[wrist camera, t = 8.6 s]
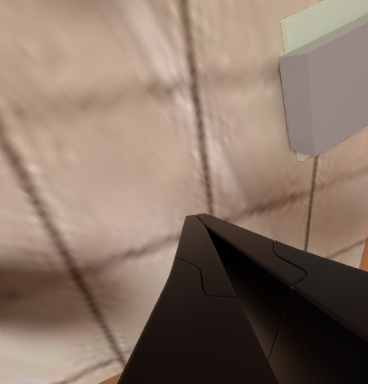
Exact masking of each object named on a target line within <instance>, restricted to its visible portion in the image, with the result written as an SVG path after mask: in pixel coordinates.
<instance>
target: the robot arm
mask: <svg viewBox="0 0 368 384" xmlns="http://www.w3.org/2000/svg"><path fill="white" fill-rule="evenodd" d="M117 384H368V272H367V271H364V270H361V269H358V268H354V267H351V266H348V265H345V264H342V263H339V262H336V261H333V260H329V259H326V258H323V257H320V256H317V255H314V254H311V253H308V252H305V251H302V250H299V249H296V248H294V247H291V246H288V245H286V244H283V243H280V242H278V241H273V240H272V239H269V238H267V237H264V236H262V235H259V234H257V233H254V232H251V231H249V230H246V229H244V228H241V227H239V226H236V225H234V224H231V223H228V222H226V221H223V220H221V219H218V218H216V217H213V216H211V215H208V214H205V213H204V214H197V215H190V216H186V217H185V221H184V225H183V229H182V232H181V236H180V240H179V244H178V247H177V251H176V255H175V259H174V262H173V265H172V268H171V271H170V275H169V277H168V279H167V282H166V284H165V286H164V288H163V290H162V292H161V294H160V296H159V299H158V301H157V303H156V305H155V307H154V309H153V311H152V313H151V315H150V317H149V319H148V321H147V323H146V325H145V327H144V329H143V331H142V333H141V335H140V337H139V339H138V341H137V344H136V346H135V348H134V350H133V352H132V354H131V356H130V358H129V360H128V362H127V364H126V366H125V368H124V370H123V372H122V374H121V376H120V378H119V380H118V383H117Z"/></svg>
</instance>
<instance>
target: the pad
mask: <svg viewBox="0 0 368 384" xmlns="http://www.w3.org/2000/svg"><path fill="white" fill-rule="evenodd" d="M366 14H368V0H322V1H320V2H318V3H316V4H314V5H312V6H310V7H307V8H305V9H303V10H301V11H299V12H297V13H295V14H292V15H290V16H288V17H286V18H284V19H282V20H280V22H281V30H282V38H283V47H284V55H286V54H288V53H290V52H292V51H294V50H296V49H298V48H300V47H302V46H304V45H306V44H308V43H310V42H312V41H314V40H316V39H318V38H320V37H322V36H324V35H326V34H328V33H330V32H332V31H334V30H336V29H338V28H340V27H342V26H344V25H346V24H348V23H350V22H352V21H354V20H356V19H358V18H360V17H362V16H364V15H366ZM296 156H297V161H300V162H302V161H304V160H305V159H307V158H309V157H310V155H306V154H303V153H300V152H296Z"/></svg>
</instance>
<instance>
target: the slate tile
mask: <svg viewBox="0 0 368 384" xmlns="http://www.w3.org/2000/svg"><path fill="white" fill-rule="evenodd" d="M279 65H280V73H281V80H282V88H283V96H284V103H285V111H286V118H287V126H288V134H289V141H290V149H291V150H293V151H296V152H300V153H303V154H306V155H310V156H313V157H316V156H317V155H319V154H321V153H322V152H324V151H326V150H327V149H329V148H331V147H332V146H334V145H336V144H337V143H339V142H341V141H342V140H344V139H346V138H347V137H349V136H351V135H352V134H354V133H356V132H357V131H359V130H361V129H362V128H364V127H366V126H367V125H368V14H366V15H364V16H362V17H360V18H358V19H356V20H354V21H352V22H350V23H348V24H346V25H344V26H342V27H340V28H338V29H336V30H334V31H332V32H330V33H328V34H326V35H324V36H322V37H320V38H318V39H316V40H314V41H312V42H310V43H308V44H306V45H304V46H302V47H300V48H298V49H296V50H294V51H292V52H290V53H288V54H286V55H284V56H282V57H280V58H279Z"/></svg>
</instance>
